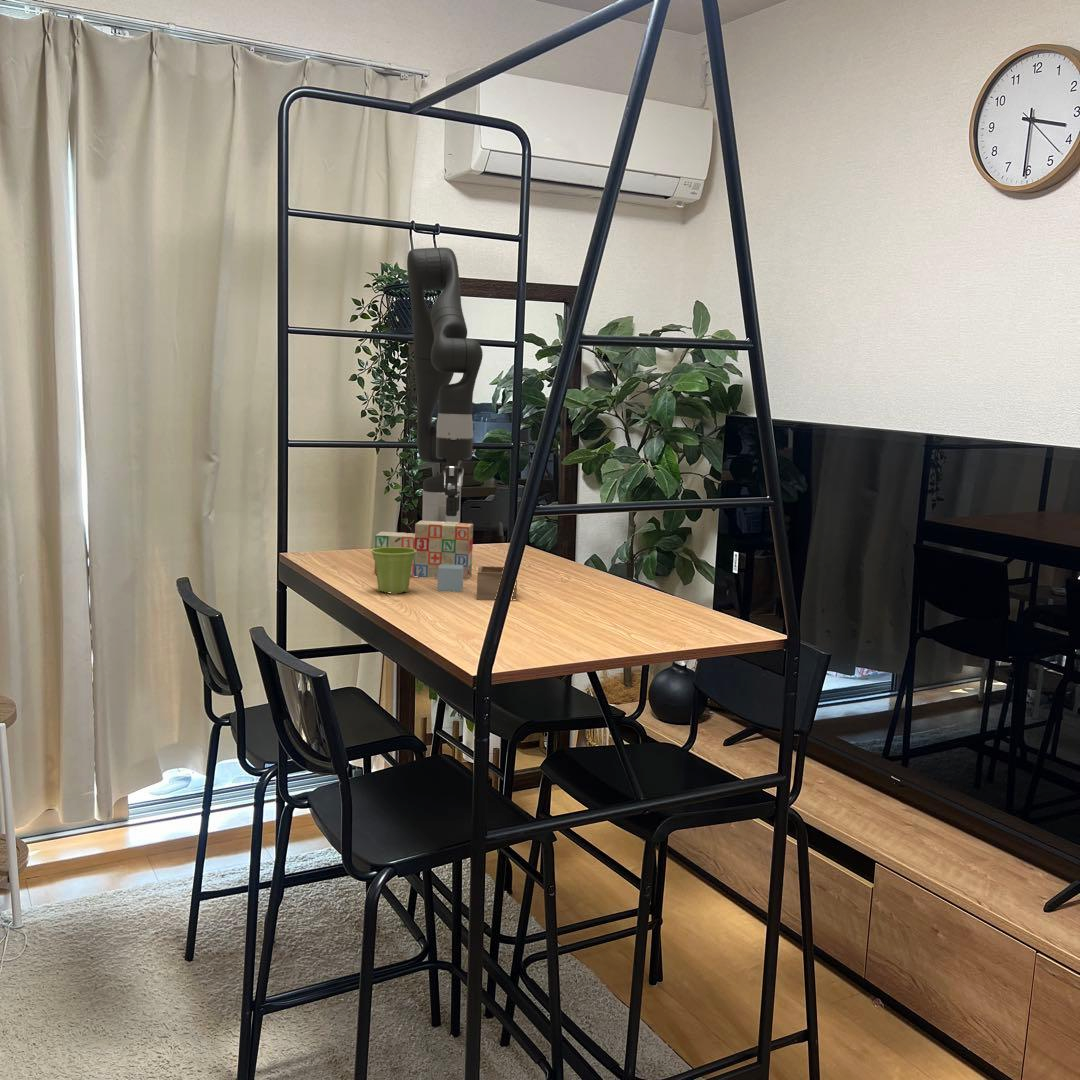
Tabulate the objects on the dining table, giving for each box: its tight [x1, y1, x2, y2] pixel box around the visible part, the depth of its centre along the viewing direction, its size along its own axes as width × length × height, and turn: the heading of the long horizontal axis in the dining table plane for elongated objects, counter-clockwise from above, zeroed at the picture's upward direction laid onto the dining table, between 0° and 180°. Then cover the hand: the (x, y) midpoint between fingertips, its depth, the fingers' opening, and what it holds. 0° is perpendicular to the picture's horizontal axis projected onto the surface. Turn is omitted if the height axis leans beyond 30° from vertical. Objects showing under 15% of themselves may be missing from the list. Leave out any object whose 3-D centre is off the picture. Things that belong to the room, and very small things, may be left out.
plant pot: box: [370, 547, 417, 594], centre depth 217 cm, size 9×9×9 cm
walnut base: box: [476, 565, 518, 601], centre depth 216 cm, size 8×8×6 cm
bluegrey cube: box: [437, 564, 464, 593], centre depth 222 cm, size 5×5×5 cm
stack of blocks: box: [374, 520, 474, 580], centre depth 237 cm, size 21×6×12 cm, turn 85°
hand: (452, 513), depth 220 cm, fingers open, 8 cm apart
